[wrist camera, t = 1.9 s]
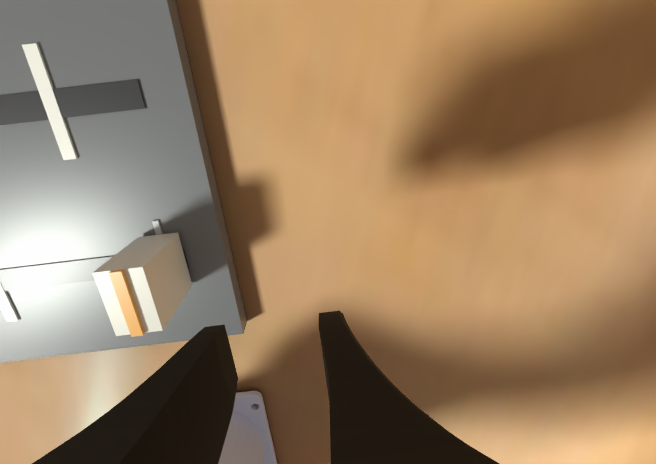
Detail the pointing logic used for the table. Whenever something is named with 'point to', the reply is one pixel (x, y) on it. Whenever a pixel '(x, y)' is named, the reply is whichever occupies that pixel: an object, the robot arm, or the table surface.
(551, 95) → the table surface
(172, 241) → the fader
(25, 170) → the console
